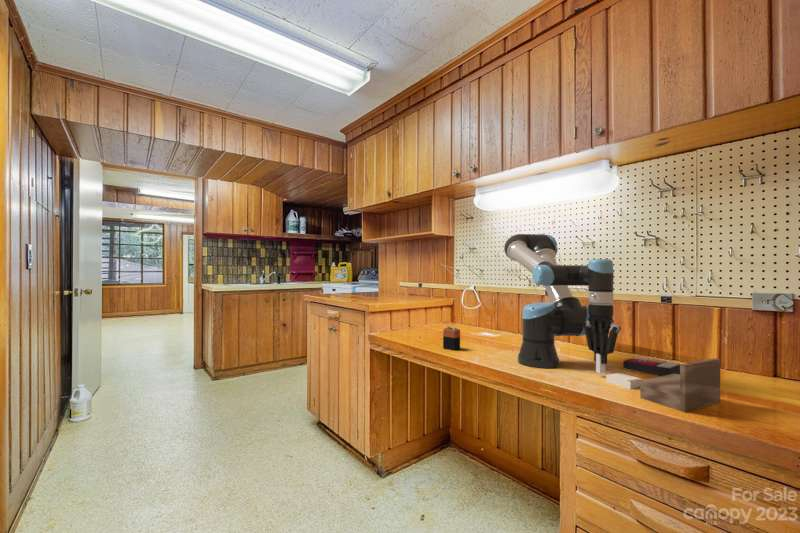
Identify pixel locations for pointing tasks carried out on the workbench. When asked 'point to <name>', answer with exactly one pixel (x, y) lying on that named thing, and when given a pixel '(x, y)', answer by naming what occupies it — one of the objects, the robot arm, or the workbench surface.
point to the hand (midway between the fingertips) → (600, 372)
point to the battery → (451, 338)
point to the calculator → (652, 366)
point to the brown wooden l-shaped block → (685, 386)
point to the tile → (624, 380)
